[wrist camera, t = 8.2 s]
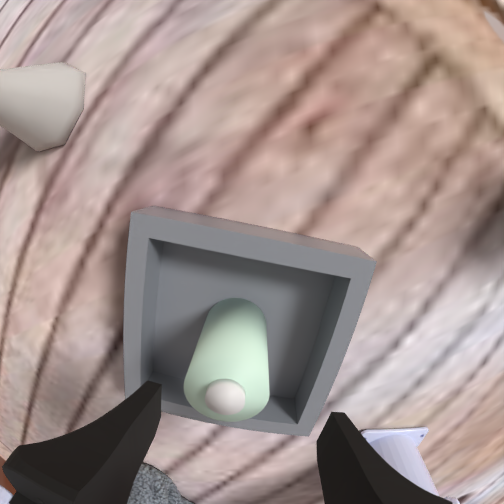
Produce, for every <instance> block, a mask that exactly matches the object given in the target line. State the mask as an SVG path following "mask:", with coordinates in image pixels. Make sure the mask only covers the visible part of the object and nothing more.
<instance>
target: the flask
mask: <svg viewBox="0 0 504 504" xmlns="http://www.w3.org/2000/svg"><path fill="white" fill-rule="evenodd" d="M85 76H86V73H85V72H83V71H81V70H79V69H77V68H75V67H73V66H71V65H69V64H66V63H64V62H59V63H49V64H41V65H35V66H26V67H18V68H11V69H0V126H1V127H3V128H4V129H6V130H7V131H9V132H10V133H12V134H13V135H15V136H16V137H18V138H19V139H20V140H22V141H23V142H24V143H26V144H27V145H29V146H30V147H31V148H33V149H34V150H36V151H37V152H39V151H43V150H46V149H49V148H53V147H56V146H60V145H64V144H65V143H66V141H67V139H68V137H69V135H70V133H71V131H72V129H73V127H74V125H75V124H76V122H77V120H78V118H79V116H80V114H81V113H82V111H83V109H84V90H85Z"/></svg>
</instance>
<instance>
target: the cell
mask: <svg viewBox="0 0 504 504" xmlns="http://www.w3.org/2000/svg"><path fill="white" fill-rule="evenodd" d="M184 393H185V396H186V398H187V400H188V402H189V403H190V405H191V406H192V407H193V408H194V409H195V410H197V411H198V412H199V413H201V414H203V415H204V416H206V417H209V418H211V419H214V420H219V421H225V422H236V421H242V420H246V419H249V418H251V417H253V416H255V415H257V414H258V413H259V412H261V411H262V410H263V409H264V407H265V406H266V404H267V402H268V400H269V369H268V347H267V325H266V319H265V316H264V314H263V312H262V311H261V309H260V308H259V307H258V306H257V305H255V304H254V303H252V302H251V301H248V300H246V299H242V298H228V299H224V300H222V301H220V302H218V303H217V304H215V305H214V306H213V307H212V308H211V310H210V311H209V313H208V315H207V318H206V321H205V324H204V326H203V329H202V332H201V335H200V338H199V340H198V343H197V346H196V349H195V352H194V354H193V357H192V360H191V363H190V366H189V369H188V372H187V374H186V377H185V380H184Z"/></svg>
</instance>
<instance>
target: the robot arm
mask: <svg viewBox="0 0 504 504" xmlns="http://www.w3.org/2000/svg"><path fill="white" fill-rule="evenodd" d="M161 394H162V384H159V383H155V382H152V381H146V382H145V383H144V384H143V385H142V386H140V387H139V388H138V389H137V390H136V391H135V392H134V393H133V394H131V395H130V396H129V397H128V398H127V399H125V400H124V401H123V402H122V403H120V404H119V405H118V406H116V407H115V408H114V409H112V410H111V411H109V412H108V413H106V414H105V415H103V416H102V417H100V418H99V419H97V420H95V421H94V422H92V423H90V424H88V425H86V426H84V427H82V428H80V429H78V430H76V431H73V432H71V433H69V434H66V435H63V436H60V437H57V438H54V439H51V440H47V441H43V442H39V443H33V444H27V445H20V446H18V447H17V448H16V449H15V450H14V451H13V453H12V454H11V455H10V457H9V458H8V459H7V461H6V462H5V463H4V465H3V466H2V468H3V472H4V474H5V475H6V477H7V478H8V480H9V481H10V483H11V484H12V485H13V487H14V488H15V489H16V493H15V495H14V496H13V495H12V494H11V493H10V492H9V491H8V490H6V489H5V488H4V487H2V486H1V485H0V504H127V503H128V499H129V496H130V493H131V489H132V486H133V483H134V480H135V478H136V475H137V473H138V471H139V468H140V466H141V464H142V462H143V460H144V458H145V456H146V454H147V451H148V449H149V447H150V445H151V443H152V441H153V439H154V436H155V434H156V431H157V428H158V424H159V421H160V418H161ZM428 431H429V430H428V428H427V427H420V428H405V429H379V430H364V431H362V432H361V433H360V432H359V431H358V429H357V428H356V427H355V425H354V424H353V423H352V422H351V420H350V419H349V418H348V416H347V415H346V414H345V413H342V412H331V414H330V416H329V418H328V420H327V422H326V424H325V426H324V428H323V430H322V432H321V434H320V436H319V438H318V440H317V462H318V468H319V474H320V479H321V484H322V490H323V495H324V501H325V504H460V503H459V501H458V500H457V498H454V497H449V496H447V497H446V498H441V497H440V496H439V494H438V492H437V490H436V487H435V485H434V483H433V481H432V479H431V476H430V474H429V472H428V470H427V468H426V466H425V464H424V461H423V459H422V457H421V455H420V453H419V451H418V449H417V446H418V445H419V444H420V442H421V441H422V440H423V438H424V437H425V435H426V434H427V433H428Z"/></svg>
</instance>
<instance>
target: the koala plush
mask: <svg viewBox="0 0 504 504" xmlns="http://www.w3.org/2000/svg"><path fill="white" fill-rule="evenodd" d="M127 504H194V503H192V502H190V501H188V500H186V499H185V498H183V497H181V494H180V493H179V491H178V490H177V487H176V486H175V484H174V483H173V482H172V480H171V479H170V478H169V477H168V476H166V475H165V474H164V473H162V472H161V471H160V470H157V469H156V468H154V467H152V466H149V465H148V464H146V463H144V464H143V463H142V464H141V466H140V468H139V471H138V473H137V475H136V478H135V480H134V483H133V486H132V489H131V493H130V496H129V499H128V503H127Z"/></svg>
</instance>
